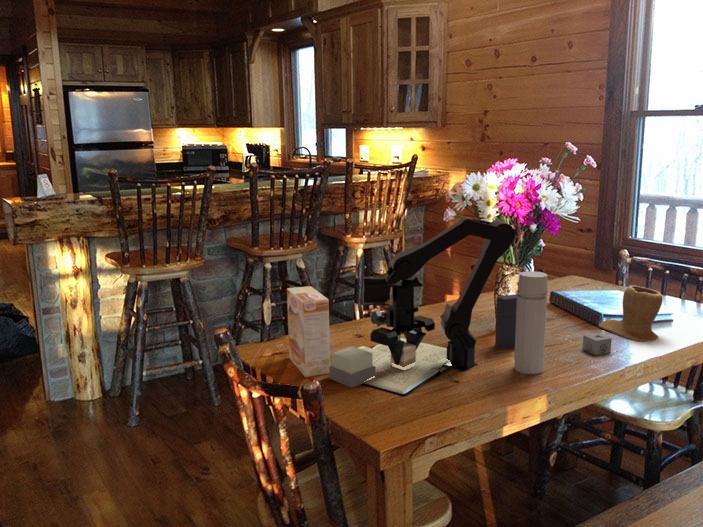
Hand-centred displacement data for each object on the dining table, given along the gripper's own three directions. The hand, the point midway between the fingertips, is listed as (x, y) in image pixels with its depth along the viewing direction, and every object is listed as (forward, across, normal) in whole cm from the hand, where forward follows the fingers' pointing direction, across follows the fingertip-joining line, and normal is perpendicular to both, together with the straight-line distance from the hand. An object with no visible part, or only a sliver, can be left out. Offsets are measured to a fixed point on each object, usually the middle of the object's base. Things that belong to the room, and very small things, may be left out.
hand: (403, 361), depth 164 cm
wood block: (+2, 0, 0) cm, 2 cm away
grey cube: (+2, -44, +30) cm, 53 cm away
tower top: (-2, +14, -4) cm, 15 cm away
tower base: (+2, +14, -4) cm, 15 cm away
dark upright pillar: (+2, -33, +12) cm, 35 cm away
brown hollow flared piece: (+2, -65, +31) cm, 72 cm away
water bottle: (+2, -21, +24) cm, 32 cm away
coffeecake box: (+2, +16, -18) cm, 25 cm away
